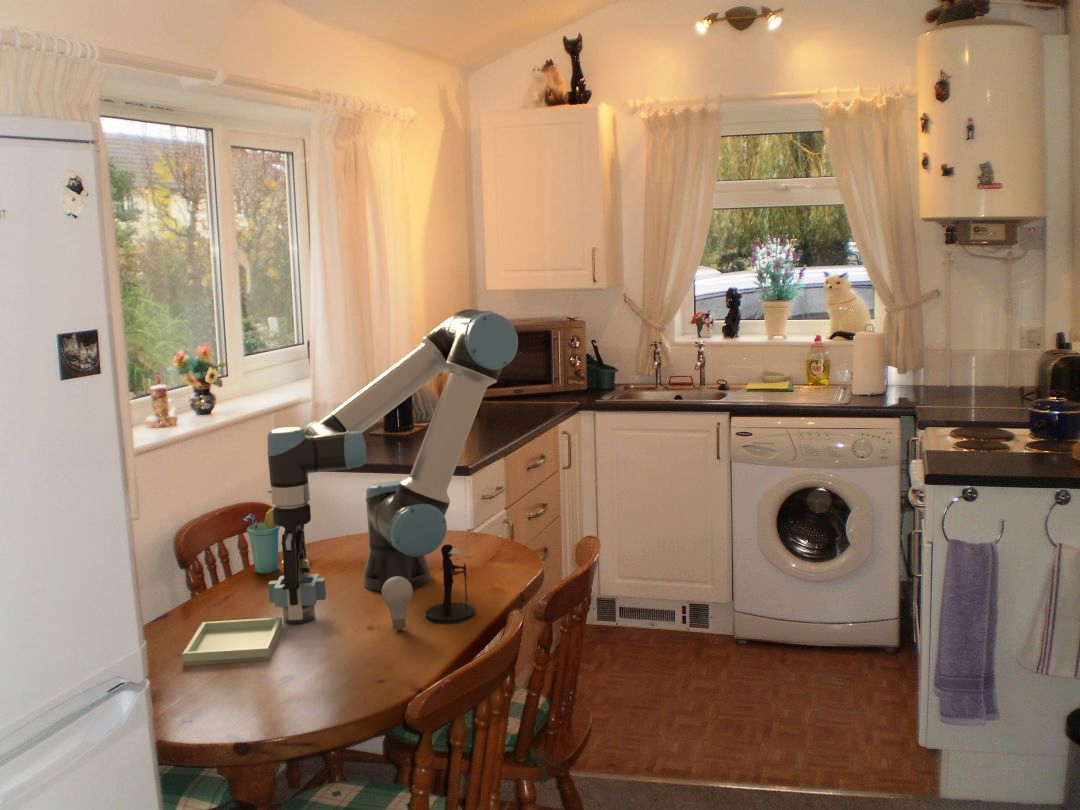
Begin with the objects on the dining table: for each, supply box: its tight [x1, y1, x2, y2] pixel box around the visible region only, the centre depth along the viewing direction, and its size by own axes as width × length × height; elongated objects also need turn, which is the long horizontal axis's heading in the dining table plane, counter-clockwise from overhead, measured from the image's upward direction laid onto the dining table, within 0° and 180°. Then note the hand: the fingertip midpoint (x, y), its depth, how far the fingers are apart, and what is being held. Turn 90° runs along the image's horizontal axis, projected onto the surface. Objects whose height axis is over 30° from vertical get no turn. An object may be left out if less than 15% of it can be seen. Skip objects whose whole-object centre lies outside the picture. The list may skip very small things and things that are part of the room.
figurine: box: [425, 544, 476, 625], centre depth 224 cm, size 10×10×15 cm
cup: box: [241, 507, 281, 574], centre depth 259 cm, size 14×8×15 cm, turn 162°
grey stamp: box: [281, 558, 316, 626], centre depth 225 cm, size 6×6×12 cm
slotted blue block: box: [267, 573, 327, 608], centre depth 225 cm, size 11×8×4 cm
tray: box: [181, 616, 283, 667], centre depth 212 cm, size 16×17×2 cm
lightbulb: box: [381, 576, 414, 631], centre depth 217 cm, size 6×6×11 cm
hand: (299, 611), depth 226 cm, fingers closed on slotted blue block, 8 cm apart
